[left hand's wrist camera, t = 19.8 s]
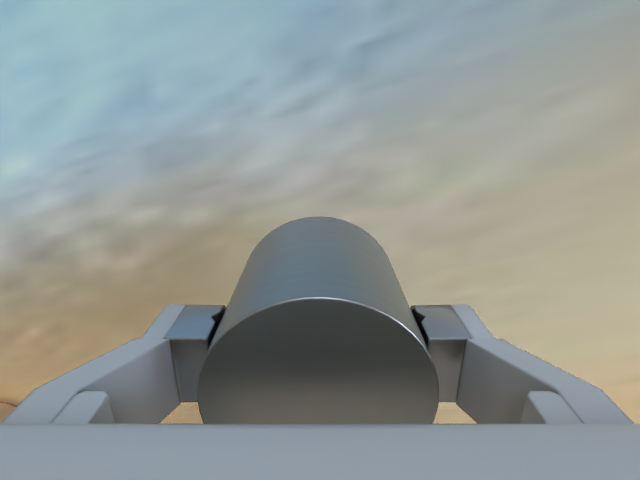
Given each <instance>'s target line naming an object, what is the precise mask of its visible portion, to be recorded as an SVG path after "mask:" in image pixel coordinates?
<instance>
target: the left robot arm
mask: <svg viewBox="0 0 640 480" xmlns="http://www.w3.org/2000/svg"><path fill="white" fill-rule="evenodd" d="M410 309H411V311H412V314H413V316H414V318H415V321H416V323H417V325H418V328H419V330H420V332H421V335H422V337H423V339H424V342H425V344H426V346H427V349H428V351H429V353H430V356H431V358H432V360H433V363H434V365H435V367H436V372H437V376H438V380H439V401H438V402H456V404H457V405H458V406H459V407H460V408H461V409H462V410H463V411H464V412H466V413H467V414H468V415H469V416H470V417H471V418H472V419H473V420H474V421H475V422H477V423H478V424H159V423H160V422H161V421H162V420H163V419H164V418H165V417H166V416H167V415H169V414H170V413H171V412H172V411H173V410H174V409H175V408H176V407H177V406H179V405H180V402H198V400H197V384H198V377H199V372H200V369H201V366H202V363H203V360H204V358H205V356H206V353H207V351H208V349H209V347H210V344H211V342H212V340H213V338H214V335H215V333H216V331H217V329H218V326H219V324H220V322H221V320H222V317H223V315H224V313H225V311H226V307H225V305H186V304H178V305H166V306H165V308H164V309H163V310H162V312H161V313H160V314H159V316H158V317H157V318H156V320H155V321H154V322H153V324H152V325H151V326H150V328H149V329H148V330H147V332H146V333H145V334H144V336H143V337H142V338H141V339H134V340H132V341H130V342H128V343H126V344H124V345H122V346H120V347H118V348H116V349H114V350H112V351H110V352H108V353H106V354H104V355H102V356H100V357H98V358H96V359H94V360H92V361H90V362H88V363H86V364H84V365H82V366H80V367H78V368H76V369H74V370H72V371H70V372H68V373H66V374H64V375H62V376H60V377H58V378H56V379H54V380H52V381H50V382H48V383H46V384H44V385H42V386H40V387H38V388H36V389H34V390H33V391H32V392H31V393H30V394H29V395H28V396H27V397H26V398H25V399H24V400H23V401H22V402H21V403H20V404H19V405H18V406H17V407H16V408H15V409H14V410H13V411H12V412H11V413H10V414H9V415H8V416H7V417H6V418H5V419H4V420H3V421H2V422H1V423H0V480H640V424H634V423H633V422H632V421H631V420H630V419H629V418H628V417H627V416H626V414H625V413H624V412H623V411H622V410H621V409H620V408H619V407H618V406H617V405H616V404H615V403H614V402H613V401H612V400H611V399H610V398H609V397H608V396H607V395H606V394H605V393H604V392H603V391H602V390H601V389H599V388H597V387H595V386H593V385H591V384H589V383H587V382H585V381H583V380H581V379H579V378H577V377H575V376H573V375H571V374H569V373H567V372H565V371H563V370H562V369H560V368H558V367H556V366H554V365H552V364H550V363H548V362H546V361H544V360H542V359H540V358H538V357H536V356H534V355H532V354H530V353H528V352H526V351H524V350H522V349H520V348H518V347H516V346H514V345H512V344H510V343H508V342H506V341H504V340H502V339H495V338H494V337H493V336H492V334H491V333H490V331H489V330H488V329H487V327H486V326H485V325H484V323H483V322H482V321H481V319H480V318H479V317H478V315H477V314H476V313H475V311H474V310H473V309H472V307H471V306H470V305H468V304H460V305H420V306H411V308H410Z"/></svg>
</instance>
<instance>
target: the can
mask: <svg viewBox="0 0 640 480" xmlns="http://www.w3.org/2000/svg"><path fill="white" fill-rule="evenodd" d="M197 400H198V405H199V411H200V414H201V417H202V420H203V423H204V424H432V423H433V421H434V419H435V415H436V411H437V408H438V401H439V380H438V376H437V372H436V367H435V365H434V363H433V360H432V358H431V356H430V353H429V351H428V349H427V346H426V344H425V342H424V339H423V337H422V335H421V332H420V330H419V328H418V325H417V323H416V321H415V318H414V316H413V314H412V311H411V309H410V307H409V304H408V302H407V300H406V298H405V295H404V293H403V291H402V288H401V286H400V284H399V281H398V279H397V277H396V274H395V272H394V270H393V267H392V265H391V263H390V260H389V258H388V256H387V254H386V253H385V251H384V249H383V248H382V247H381V245H380V244H379V243H378V242H377V241H376V240H375V239H374V238H373V237H372V236H371V235H370V234H369V233H367V232H366V231H364V230H363V229H362V228H360V227H358V226H356V225H354V224H352V223H349V222H346V221H344V220H340V219H336V218H330V217H308V218H301V219H297V220H294V221H290V222H288V223H286V224H283V225H281V226H279V227H278V228H276V229H274V230H273V231H271V232H270V233H269V234H268V235H266V236H265V237H264V238H263V239H262V240H261V241H260V242H259V243H258V244H257V246H256V247H255V249H254V250H253V251H252V253H251V255H250V257H249V259H248V261H247V263H246V265H245V268H244V270H243V272H242V274H241V277H240V279H239V281H238V284H237V286H236V288H235V290H234V293H233V295H232V297H231V299H230V302H229V304H228V306H227V308H226V311H225V313H224V315H223V317H222V320H221V322H220V324H219V326H218V329H217V331H216V333H215V335H214V338H213V340H212V342H211V344H210V347H209V349H208V351H207V353H206V356H205V358H204V360H203V363H202V366H201V369H200V372H199V377H198V384H197Z"/></svg>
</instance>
